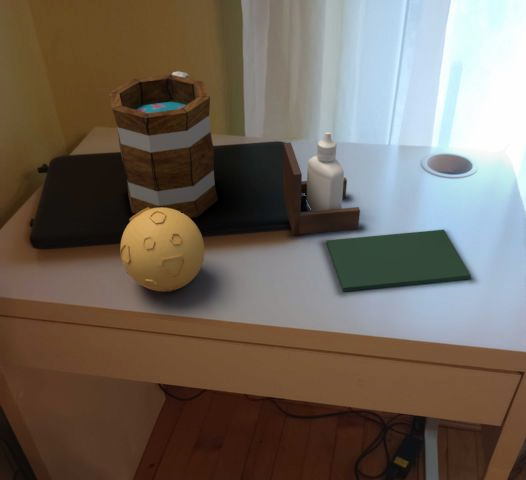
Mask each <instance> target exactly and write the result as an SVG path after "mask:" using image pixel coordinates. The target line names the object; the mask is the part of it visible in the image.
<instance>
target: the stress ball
mask: <svg viewBox="0 0 526 480" xmlns="http://www.w3.org/2000/svg"><path fill="white" fill-rule="evenodd" d="M119 250H120V251H119V252H120V258H121V261H122V264H123V266H124V269H125V270H126V272H127V274H129V276H130V277H131V278H132V279H133V280H134V281H135V282H136V283H138V285H140V286H142V287H144V288H146V289H149V290H152V291H156V292H172V291H176V290H178V289H181V288H183V287H185V286H186V285H188V284H189V283H191V282H192V280H194V279H195V277H196V276H197V275H198V274H199V272H200V270H201V268H202V266H203V263H204V260H205V242H204V239H203V235H202V233H201V231H200V229H199V227H198V226H197V224H196V223H195V221H194V220H192V218H189V217H188V216H186V215H185V214H183V213H181V212H179V211H177V210H174V209H170V208H152V209H150V208H149V207H148V208H146V209H143V210H142V211H140V212H139V213H137V214H134V215H132V216H131V217H130V218H129V223H128V224H127V225H126V227H125V228H124V230H123V233H122V235H121V240H120V249H119Z"/></svg>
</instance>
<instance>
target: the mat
mask: <svg viewBox="0 0 526 480" xmlns="http://www.w3.org/2000/svg"><path fill="white" fill-rule="evenodd" d="M325 244H326V247H327V250H328V254H329V256H330V259H331V262H332V264H333V268H334V270H335V273H336V276H337V278H338V283H339V285H340V287H341V291H342V292H351V291H352V292H353V291H361V290H371V289H380V288H381V289H382V288H392V287H402V286H411V285H412V286H413V285H421V284H430V283H431V284H433V283H442V282H452V281H461V280H470V279H471V277H472V275H471V273H470V271H469V270H468V268H467V266H466V264H465V263H464V261H463V259H462V258H461V256H460V254H459V253H458V251H457V249H456V248H455V246H454V244H453V243H452V241H451V239H450V237H449V236H448V234H447V232H446V231H445V229H437V230H436V229H433V230H423V231H415V232H413V231H412V232H404V233H393V234H392V233H391V234H382V235H371V236H360V237H349V238H347V237H346V238H337V239H327V240H326V241H325Z"/></svg>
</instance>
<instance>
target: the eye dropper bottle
mask: <svg viewBox="0 0 526 480" xmlns="http://www.w3.org/2000/svg"><path fill="white" fill-rule="evenodd" d="M316 147H317V149H316V152H317V154H316V155H313V156H312V157H310V158H309V159H308V160H307V161H308V162H307V172H306V173H307V174H306V181H307V197H306V200H307V202H308V204H309V206H310V208H311V210H310V208H309V207H308V206H307V204H306V203H305V207H306V210H307V212H308V211H320V210H331V209H342V207H343V199H342V196H343V182H344V178H345V172H344V169H343V166H342V165H341V163H340V162H339V161H338V159H336V158H337V157H336V156H337V142H336V141H335V140H334V139H332V134H331V132H330V131H325V132H324V135H323V139H321V140H319V141H318V142H317V146H316Z"/></svg>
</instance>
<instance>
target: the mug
mask: <svg viewBox="0 0 526 480" xmlns="http://www.w3.org/2000/svg"><path fill="white" fill-rule="evenodd" d="M108 94H109V95H108V96H109V100H110V105H111V109H112V113H113V116H114V120H115V123H116V127H117V134H118V146H119V151H120V156H121V161H122V166H123V169H124V172H125V175H126V179H127V180H126V181H127V194H128V200H129V205H130V210H131V213H132V214H134V215H136V214H137V213H139V212H140V211H142V210H143V209H146V208H148V207H149V208H150V209H152V208H170V209H174V210H177V211H179V212H183V214H185V215H186V216H188V217H189V218H190V219H194V218H198V217H199V216H201V215H202V214H203V213H204V212H205V211H207V209H209V208H210V207H211V206H212V205H214V204H215V203H216V202H217V201H218V200H219V198H218V194H217V189H216V183H215V181H216V180H215V170H214V169H215V168H214V167H215V149H214V143H213V138H212V132H211V121H210V108H211V107H210V105H211V104H210V103H211V96H210V94H209V91H208V90H207V88H206V86H205V83H204V82H203V81H202V80H197V79H192V78H190V76H189V74H188V73H187V72H183V71H178V70H177V71H173V72H172V73H171V74H165V75H156V76H149V77H139V78H134V79H131V80H130V81H128V82H126V83H124V84H123V85H121V86H119V87H116V88H115V89H114V90H112V91H110V92H108ZM215 194H216V195H215ZM210 198H211V199H210ZM209 199H210V200H209ZM203 204H204V205H203ZM199 207H200V208H199ZM198 208H199V209H198ZM197 209H198V210H197ZM194 210H196V211H194ZM187 211H190V212H187Z"/></svg>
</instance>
